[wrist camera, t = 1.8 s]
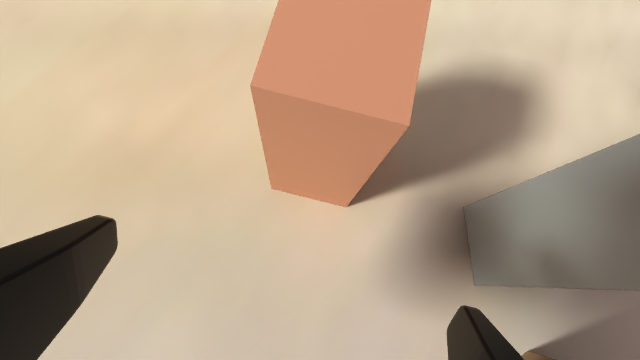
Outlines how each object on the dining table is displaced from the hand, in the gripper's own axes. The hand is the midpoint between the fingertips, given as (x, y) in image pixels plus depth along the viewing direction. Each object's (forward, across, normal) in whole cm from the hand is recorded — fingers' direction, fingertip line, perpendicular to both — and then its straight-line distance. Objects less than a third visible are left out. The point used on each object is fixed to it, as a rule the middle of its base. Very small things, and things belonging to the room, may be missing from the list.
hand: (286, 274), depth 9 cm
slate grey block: (+13, -13, +5) cm, 19 cm away
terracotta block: (+14, 0, +4) cm, 15 cm away
